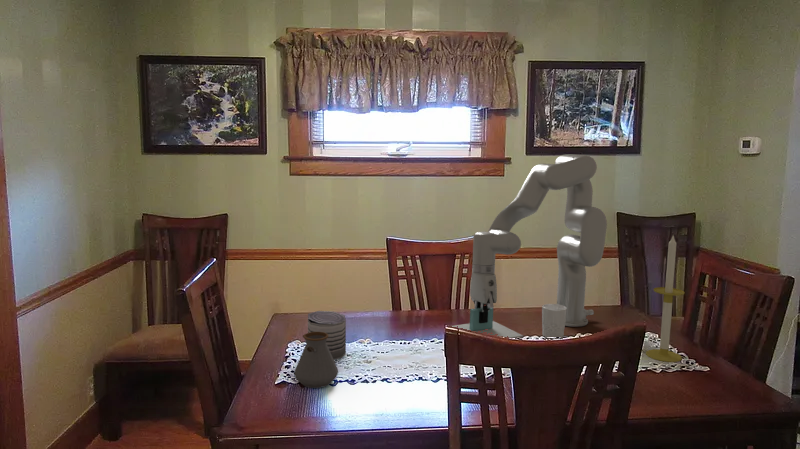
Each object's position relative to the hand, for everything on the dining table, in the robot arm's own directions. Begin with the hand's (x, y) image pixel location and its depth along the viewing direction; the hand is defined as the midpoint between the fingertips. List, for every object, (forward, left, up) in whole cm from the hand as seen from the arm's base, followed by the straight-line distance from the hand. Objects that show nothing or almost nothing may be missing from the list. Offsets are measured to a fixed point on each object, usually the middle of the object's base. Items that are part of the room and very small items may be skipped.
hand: (481, 321), depth 196 cm
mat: (0, +2, -3) cm, 4 cm away
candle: (-38, +42, -4) cm, 57 cm away
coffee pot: (+66, +23, -4) cm, 70 cm away
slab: (0, 0, -3) cm, 3 cm away
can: (+55, 0, -4) cm, 55 cm away
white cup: (-19, +14, -4) cm, 24 cm away
